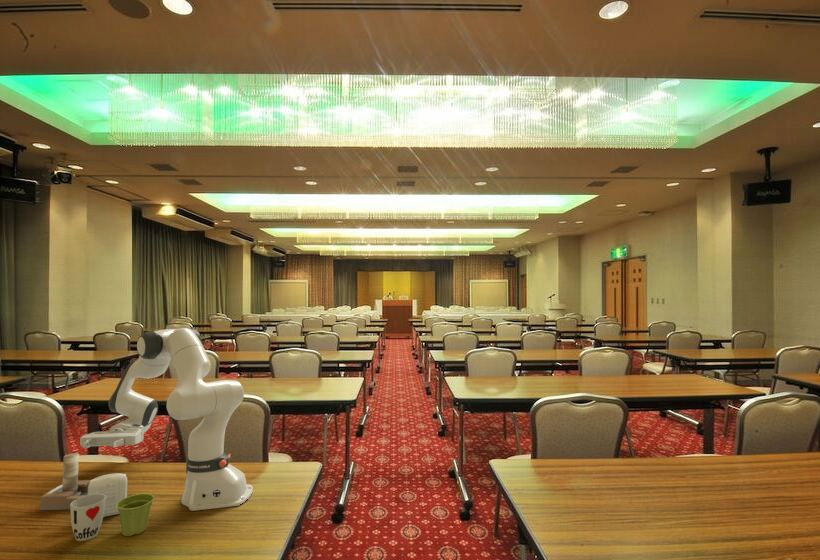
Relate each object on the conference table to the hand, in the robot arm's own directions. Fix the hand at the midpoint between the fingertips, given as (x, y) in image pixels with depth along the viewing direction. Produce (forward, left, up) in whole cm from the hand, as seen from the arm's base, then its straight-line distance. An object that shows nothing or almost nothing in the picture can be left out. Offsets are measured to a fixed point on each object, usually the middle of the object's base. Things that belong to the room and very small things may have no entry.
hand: (98, 445), depth 156 cm
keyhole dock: (-3, +14, -14) cm, 19 cm away
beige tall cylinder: (0, +14, -13) cm, 18 cm away
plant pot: (-32, +34, -14) cm, 48 cm away
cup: (-20, +36, -14) cm, 43 cm away
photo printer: (-18, +24, -14) cm, 33 cm away
